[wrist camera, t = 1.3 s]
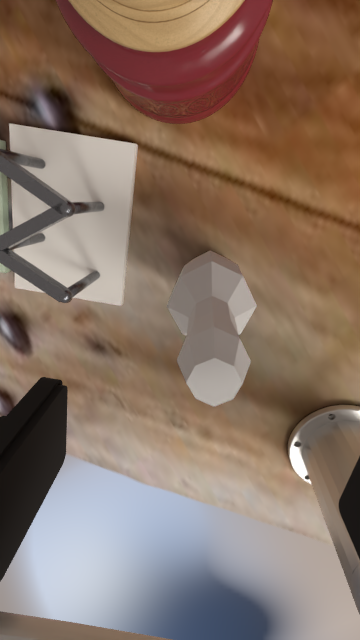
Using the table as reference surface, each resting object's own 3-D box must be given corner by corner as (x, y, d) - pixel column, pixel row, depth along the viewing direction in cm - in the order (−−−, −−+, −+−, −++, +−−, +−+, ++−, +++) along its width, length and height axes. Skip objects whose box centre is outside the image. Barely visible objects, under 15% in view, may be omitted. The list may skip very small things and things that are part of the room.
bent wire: (108, 167, 31) (73, 156, 23) (101, 281, 35) (69, 305, 27) (34, 155, 31) (-27, 140, 23) (35, 270, 35) (-16, 291, 27)
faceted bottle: (168, 273, 35) (112, 381, 14) (210, 230, 33) (215, 281, 12) (209, 313, 36) (213, 464, 15) (252, 272, 34) (321, 384, 14)
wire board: (138, 145, 31) (135, 143, 30) (123, 303, 36) (121, 305, 35) (15, 125, 31) (9, 123, 30) (19, 285, 37) (14, 287, 36)
